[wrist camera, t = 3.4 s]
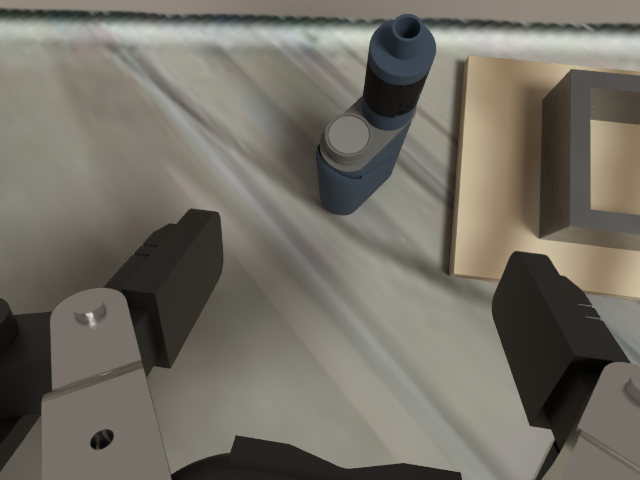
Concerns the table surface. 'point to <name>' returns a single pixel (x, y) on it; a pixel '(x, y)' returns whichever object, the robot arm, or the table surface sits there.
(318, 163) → the vaping device
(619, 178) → the mounting board
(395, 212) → the table surface
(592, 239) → the square socket
